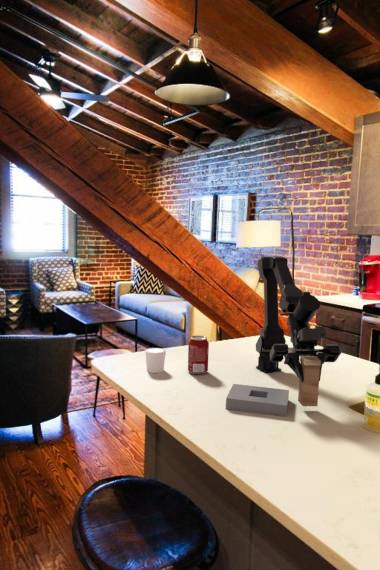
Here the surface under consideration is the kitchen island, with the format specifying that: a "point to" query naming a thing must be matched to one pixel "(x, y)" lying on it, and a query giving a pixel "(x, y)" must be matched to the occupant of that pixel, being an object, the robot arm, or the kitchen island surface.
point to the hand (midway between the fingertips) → (310, 381)
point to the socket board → (258, 399)
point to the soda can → (198, 355)
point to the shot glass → (155, 359)
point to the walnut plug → (309, 381)
